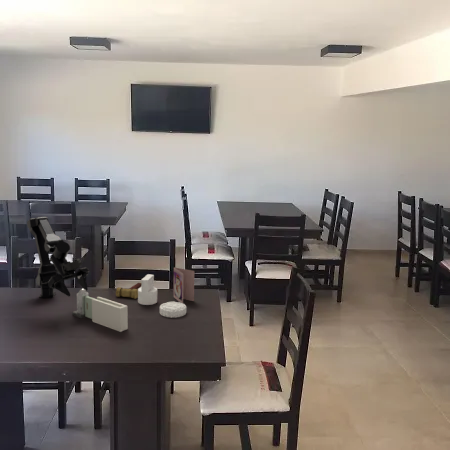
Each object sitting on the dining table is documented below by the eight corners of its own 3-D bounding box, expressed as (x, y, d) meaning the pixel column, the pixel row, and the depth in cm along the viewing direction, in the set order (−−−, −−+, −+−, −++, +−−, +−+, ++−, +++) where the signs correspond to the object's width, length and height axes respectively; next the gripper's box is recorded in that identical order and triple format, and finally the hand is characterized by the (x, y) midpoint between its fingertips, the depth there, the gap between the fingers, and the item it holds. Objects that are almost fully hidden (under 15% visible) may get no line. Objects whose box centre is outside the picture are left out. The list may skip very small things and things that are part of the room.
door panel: (85, 316, 217) (84, 296, 216) (87, 315, 219) (87, 295, 217) (104, 323, 211) (103, 303, 209) (106, 322, 212) (106, 302, 210)
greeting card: (171, 297, 245) (172, 267, 242) (185, 295, 249) (186, 265, 246) (181, 304, 236) (181, 274, 232) (195, 302, 239) (196, 272, 236)
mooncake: (190, 310, 230) (190, 303, 229) (179, 319, 219) (179, 312, 218) (166, 306, 234) (166, 299, 233) (154, 315, 223) (154, 307, 222)
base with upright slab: (153, 305, 233) (153, 281, 231) (135, 303, 235) (135, 279, 233) (159, 299, 242) (159, 275, 240) (142, 297, 244) (142, 273, 241)
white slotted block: (92, 321, 213) (91, 299, 211) (99, 318, 216) (98, 296, 214) (120, 331, 204) (120, 308, 202) (127, 328, 207) (127, 305, 205)
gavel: (132, 278, 262) (150, 280, 260) (132, 287, 263) (150, 288, 261) (115, 288, 242) (135, 290, 240) (115, 297, 243) (135, 299, 241)
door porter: (72, 315, 219) (71, 288, 217) (81, 311, 223) (80, 285, 221) (81, 318, 216) (80, 291, 214) (90, 314, 220) (89, 288, 218)
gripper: (50, 258, 211) (68, 288, 207) (86, 249, 226) (103, 278, 222) (40, 272, 217) (57, 302, 213) (75, 263, 232) (92, 291, 228)
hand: (78, 293), depth 219 cm, fingers open, 9 cm apart
